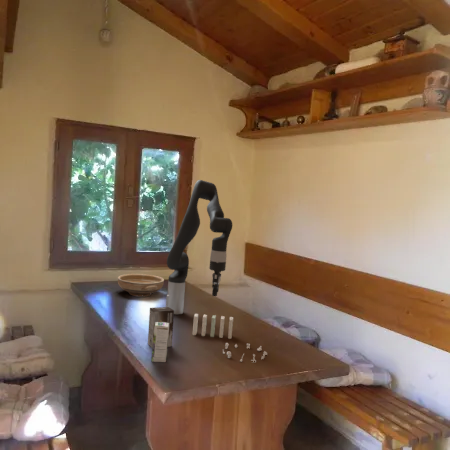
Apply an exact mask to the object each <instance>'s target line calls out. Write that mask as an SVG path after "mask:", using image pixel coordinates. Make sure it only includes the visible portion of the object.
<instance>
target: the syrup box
mask: <svg viewBox="0 0 450 450" xmlns="http://www.w3.org/2000/svg"><path fill="white" fill-rule="evenodd" d="M168 333H169V323H165V322H156V323H155V327H154V337H153V347H151V348H152V350H151V362H152V363H154V362H155V363H166V361H167V353H168V347H167V345H168Z"/></svg>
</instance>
